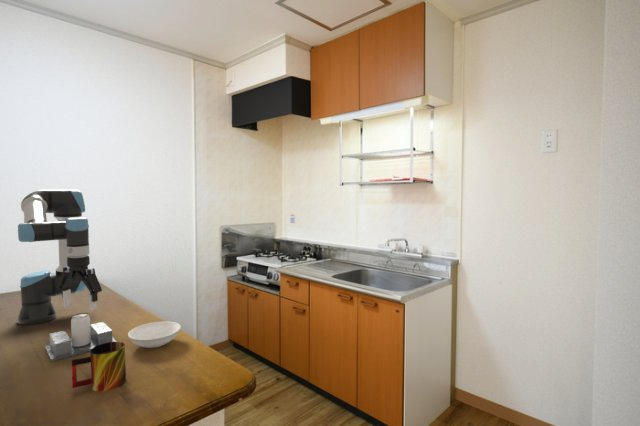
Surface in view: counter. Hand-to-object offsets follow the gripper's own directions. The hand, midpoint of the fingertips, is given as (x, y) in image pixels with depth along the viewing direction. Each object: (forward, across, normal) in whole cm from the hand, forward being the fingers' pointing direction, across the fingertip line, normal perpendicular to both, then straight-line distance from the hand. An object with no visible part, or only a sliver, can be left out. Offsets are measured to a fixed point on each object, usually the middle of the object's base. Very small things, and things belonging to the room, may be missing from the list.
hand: (80, 307), depth 144 cm
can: (+15, +1, 0) cm, 15 cm away
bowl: (+16, +29, +9) cm, 34 cm away
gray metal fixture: (+16, +1, 0) cm, 16 cm away
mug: (+15, +35, -22) cm, 44 cm away
